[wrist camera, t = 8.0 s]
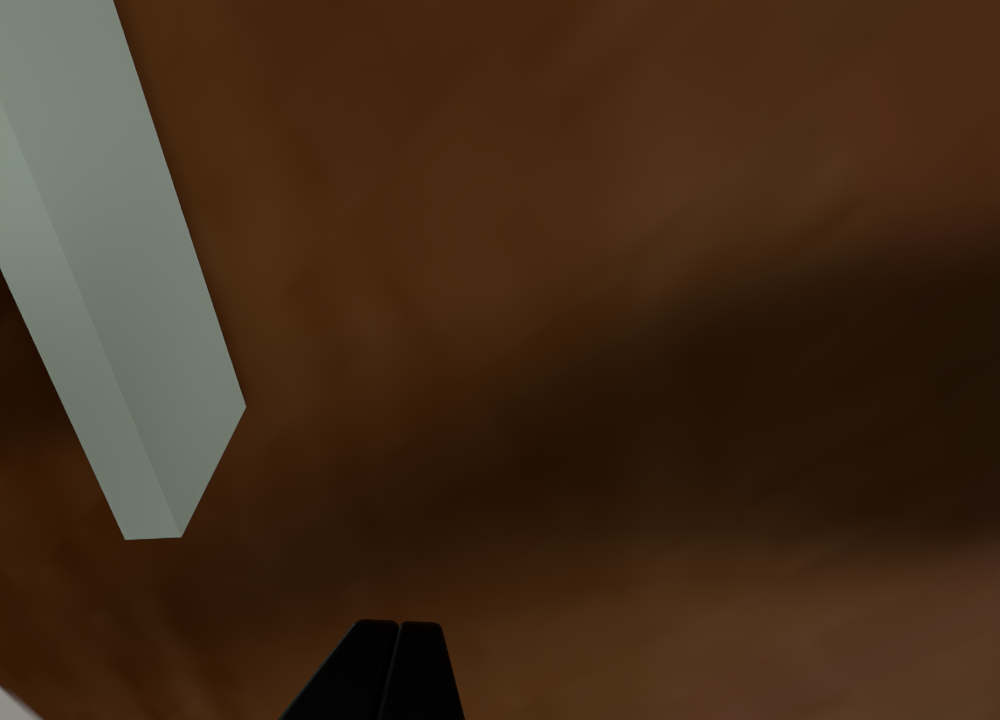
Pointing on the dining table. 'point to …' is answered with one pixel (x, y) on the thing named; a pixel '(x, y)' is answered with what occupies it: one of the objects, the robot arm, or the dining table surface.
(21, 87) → the door
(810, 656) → the dining table surface
